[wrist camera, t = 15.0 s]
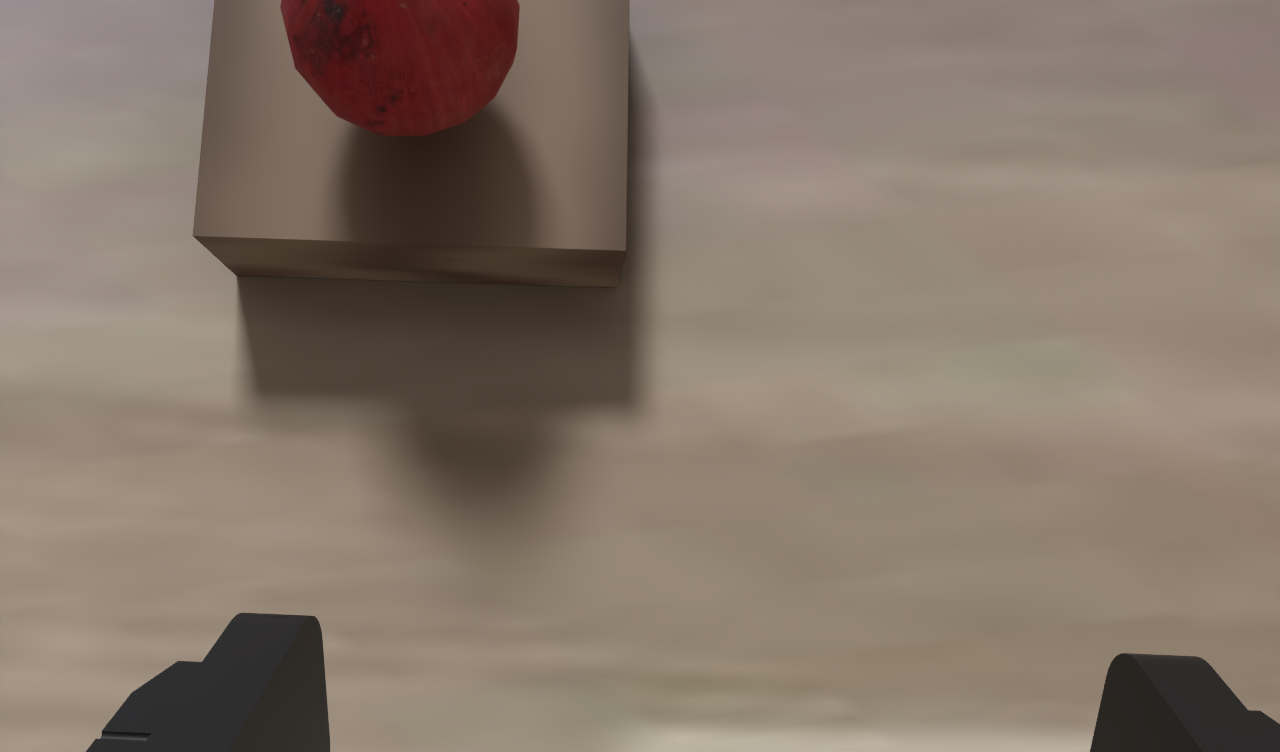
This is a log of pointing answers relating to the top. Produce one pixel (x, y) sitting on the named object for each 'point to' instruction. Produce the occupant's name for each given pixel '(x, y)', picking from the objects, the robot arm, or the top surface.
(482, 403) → the top surface
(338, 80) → the pomegranate
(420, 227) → the plinth
